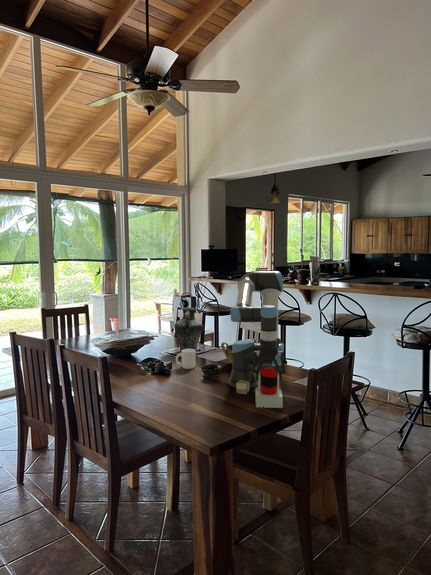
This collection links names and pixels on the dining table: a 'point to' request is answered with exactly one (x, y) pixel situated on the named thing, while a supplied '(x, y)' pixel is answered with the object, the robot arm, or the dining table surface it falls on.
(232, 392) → the dining table surface
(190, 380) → the dining table surface
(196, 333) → the jug
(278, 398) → the green block
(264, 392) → the soda can
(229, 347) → the olive yellow teapot
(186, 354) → the mug
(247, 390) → the maple cube
